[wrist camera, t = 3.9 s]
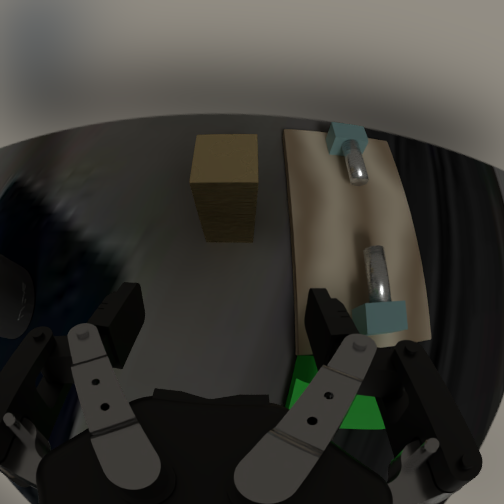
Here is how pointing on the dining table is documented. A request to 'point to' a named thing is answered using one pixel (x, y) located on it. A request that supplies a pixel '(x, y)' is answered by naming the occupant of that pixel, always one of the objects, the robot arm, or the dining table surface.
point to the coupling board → (353, 234)
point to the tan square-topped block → (226, 185)
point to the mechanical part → (361, 411)
